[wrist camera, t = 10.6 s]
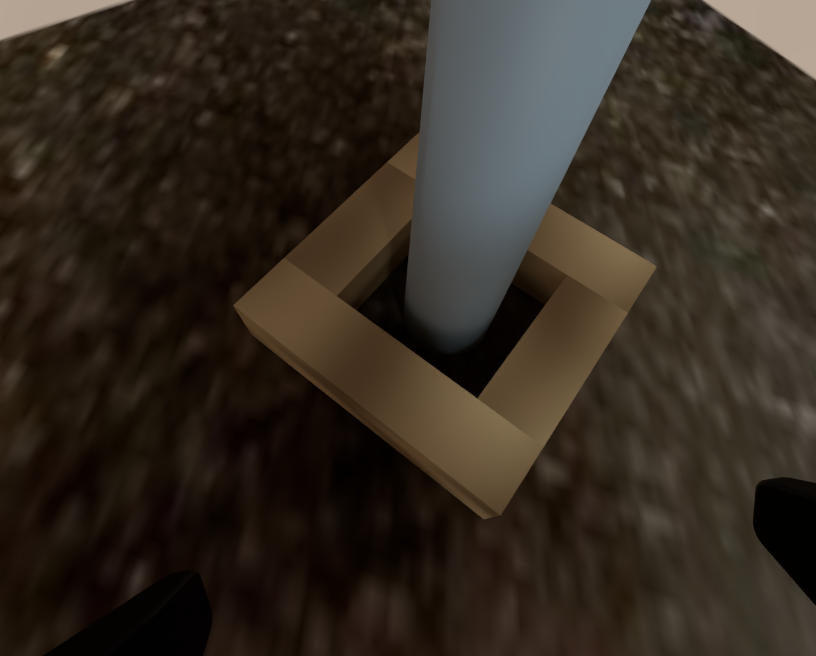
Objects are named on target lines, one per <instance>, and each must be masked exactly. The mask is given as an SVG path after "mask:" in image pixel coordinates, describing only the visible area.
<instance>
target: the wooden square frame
mask: <svg viewBox="0 0 816 656" xmlns="http://www.w3.org/2000/svg"><path fill="white" fill-rule="evenodd" d="M419 134H420V132H419V133H418V134H417V135H416V136H415V137H414V138H413V139H411V140H410V141H409V142H408V143H407V144H406V145H405V146H404V147H403V148H402V149H401V150H400V151H399V152H397V153H396V154H395V155H394V156H393V157H392V158H391V159H390V160H389V161H388V162H387V163H386V164H385V165H384V166H382V167H381V168H380V169H379V170H378V171H377V172H376V173H375V174H374V175H373V176H372V177H371V178H370V179H368V180H367V181H366V182H365V183H364V184H363V185H362V186H361V187H360V188H359V189H358V190H357V191H356V192H355V193H353V194H352V195H351V196H350V197H349V198H348V199H347V200H346V201H345V202H344V203H343V204H342V205H341V206H339V207H338V208H337V209H336V210H335V211H334V212H333V213H332V214H331V215H330V216H329V217H328V218H327V219H326V220H324V221H323V222H322V223H321V224H320V225H319V226H318V227H317V228H316V229H315V230H314V231H313V232H312V233H310V234H309V235H308V236H307V237H306V238H305V239H304V240H303V241H302V242H301V243H300V244H299V245H298V246H297V247H295V248H294V249H293V250H292V251H291V252H290V253H289V254H288V255H287V256H286V257H285V258H284V259H283V260H281V261H280V262H279V263H278V264H277V265H276V266H275V267H274V268H273V269H272V270H271V271H270V272H269V273H268V274H266V275H265V276H264V277H263V278H262V279H261V280H260V281H259V282H258V283H257V284H256V285H255V286H254V287H252V288H251V289H250V290H249V291H248V292H247V293H246V294H245V295H244V296H243V297H242V298H241V299H240V300H238V301H237V302H236V303H235V304H234V305H233V306H234V308H235V309H236V311H237V312H238V314H239V315H240V317H241V319H242V320H243V322H244V323H245V325H246V327H247V328H248V330H249V331H250V333H251V334H252V335H253V336H254V337H255V338H256V339H258V340H259V341H260V342H261V343H263V344H264V345H265V346H266V347H268V348H269V349H270V350H271V351H273V352H274V353H275V354H276V355H278V356H279V357H280V358H282V359H283V360H284V361H285V362H287V363H288V364H289V365H290V366H292V367H293V368H294V369H295V370H297V371H298V372H299V373H300V374H302V375H303V376H304V377H305V378H307V379H308V380H309V381H310V382H312V383H313V384H314V385H315V386H317V387H318V388H319V389H321V390H322V391H323V392H324V393H326V394H327V395H328V396H329V397H331V398H332V399H333V400H334V401H336V402H337V403H338V404H339V405H341V406H342V407H343V408H344V409H346V410H347V411H348V412H349V413H351V414H352V415H353V416H354V417H356V418H357V419H358V420H360V421H361V422H362V423H363V424H365V425H366V426H367V427H368V428H370V429H371V430H372V431H373V432H375V433H376V434H377V435H378V436H380V437H381V438H382V439H383V440H385V441H386V442H387V443H388V444H390V445H391V446H392V447H393V448H395V449H396V450H397V451H398V452H400V453H401V454H402V455H404V456H405V457H406V458H407V459H409V460H410V461H411V462H412V463H414V464H415V465H416V466H417V467H419V468H420V469H421V470H422V471H424V472H425V473H426V474H427V475H429V476H430V477H431V478H432V479H434V480H435V481H436V482H437V483H439V484H440V485H441V486H443V487H444V488H445V489H446V490H448V491H449V492H450V493H451V494H453V495H454V496H455V497H456V498H458V499H459V500H460V501H461V502H463V503H464V504H465V505H466V506H468V507H469V508H470V509H471V510H473V511H474V512H475V513H476V514H478V515H479V516H480V517H482V518H483V519H487V518H492V517H496V516H500V515H501V514H502V512H503V511H504V509H505V508H506V506H507V504H508V503H509V501H510V500H511V498H512V496H513V495H514V493H515V492H516V490H517V488H518V487H519V485H520V484H521V482H522V480H523V479H524V477H525V476H526V474H527V472H528V471H529V469H530V468H531V466H532V465H533V463H534V461H535V460H536V458H537V457H538V455H539V453H540V452H541V450H542V449H543V447H544V445H545V444H546V442H547V441H548V439H549V437H550V436H551V434H552V433H553V431H554V430H555V428H556V426H557V425H558V423H559V422H560V420H561V418H562V417H563V415H564V414H565V412H566V410H567V409H568V407H569V406H570V404H571V402H572V401H573V399H574V398H575V396H576V395H577V393H578V391H579V390H580V388H581V387H582V385H583V383H584V382H585V380H586V379H587V377H588V375H589V374H590V372H591V371H592V369H593V367H594V366H595V364H596V363H597V361H598V360H599V358H600V356H601V355H602V353H603V352H604V350H605V348H606V347H607V345H608V344H609V342H610V340H611V339H612V337H613V336H614V334H615V332H616V331H617V329H618V328H619V326H620V324H621V323H622V321H623V320H624V318H625V317H626V315H627V313H628V312H629V310H630V309H631V307H632V305H633V304H634V302H635V301H636V299H637V297H638V296H639V294H640V293H641V291H642V289H643V288H644V286H645V285H646V283H647V282H648V280H649V278H650V277H651V275H652V274H653V272H654V270H655V269H656V267H657V266H655V265H654V264H652V263H650V262H648V261H647V260H645V259H643V258H642V257H640V256H638V255H637V254H635V253H633V252H632V251H630V250H628V249H627V248H625V247H623V246H621V245H620V244H618V243H616V242H615V241H613V240H611V239H610V238H608V237H606V236H605V235H603V234H601V233H600V232H598V231H596V230H594V229H593V228H591V227H589V226H588V225H586V224H584V223H583V222H581V221H579V220H578V219H576V218H574V217H572V216H571V215H569V214H567V213H566V212H564V211H562V210H561V209H559V208H557V207H556V206H554V205H552V204H551V203H550V205H549V207H548V209H547V211H546V213H545V215H544V217H543V219H542V221H541V223H540V225H539V227H538V230H537V232H536V234H535V236H534V238H533V240H532V242H531V244H530V246H529V248H528V250H527V252H526V254H525V256H524V258H523V260H522V262H521V264H520V266H519V268H518V270H517V272H516V274H515V276H514V278H513V280H512V282H511V284H513V285H514V286H516V287H517V288H519V289H521V290H522V291H524V292H525V293H527V294H528V295H530V296H531V297H533V298H534V299H536V300H537V301H539V302H540V303H542V304H544V305H545V306H544V307H543V309H542V310H541V312H540V313H539V314H538V316H537V317H536V318H535V320H534V321H533V323H532V324H531V325H530V327H529V328H528V329H527V331H526V332H525V334H524V335H523V336H522V338H521V339H520V340H519V342H518V343H517V345H516V346H515V347H514V349H513V350H512V352H511V353H510V354H509V356H508V357H507V358H506V360H505V361H504V363H503V364H502V365H501V367H500V368H499V369H498V371H497V372H496V374H495V375H494V376H493V378H492V379H491V380H490V382H489V383H488V385H487V386H486V387H485V389H484V390H483V391H482V393H481V394H480V396H479V397H478V398H476V397H474V396H473V395H472V394H470V393H469V392H467V391H466V390H465V389H463V388H462V387H461V386H459V385H458V384H457V383H455V382H454V381H452V380H451V379H450V378H448V377H447V376H446V375H444V374H443V373H441V372H440V371H439V370H437V369H436V368H435V367H433V366H432V365H430V364H429V363H428V362H426V361H425V360H424V359H422V358H421V357H419V356H418V355H417V354H415V353H414V352H413V351H411V350H410V349H408V348H407V347H406V346H404V345H403V344H402V343H400V342H399V341H398V340H396V339H395V338H393V337H392V336H391V335H389V334H388V333H387V332H385V331H384V330H382V329H381V328H380V327H378V326H377V325H376V324H374V323H373V322H371V321H370V320H369V319H367V318H366V317H365V316H363V315H362V314H360V313H359V312H358V311H357V309H358V308H359V307H360V306H361V305H362V304H363V303H364V302H365V301H366V300H367V299H368V298H369V297H370V296H371V294H372V293H373V292H374V291H375V290H376V289H377V288H378V287H379V286H380V285H381V284H382V283H383V282H384V281H385V279H386V278H387V277H388V276H389V275H390V274H391V273H392V272H393V271H394V270H395V269H396V268H397V267H398V265H399V264H400V263H401V262H402V261H403V260H404V259H405V258H406V257H407V256H408V255H409V246H410V235H411V224H412V213H413V201H414V190H415V179H416V168H417V157H418V145H419Z"/></svg>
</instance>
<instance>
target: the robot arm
mask: <svg viewBox="0 0 816 656" xmlns="http://www.w3.org/2000/svg"><path fill="white" fill-rule="evenodd" d="M753 526H754V530H755V533H756V535H757V537H758V539H759V540H760V542H761V543H762V544H763V546H764V547H765V548H766V549H767V550H768V551H769V553H770V554H771V555H772V556H773V557H774V558H775V559H776V561H777V562H778V563H779V564H780V565H781V566H782V567H783V569H784V570H785V571H786V572H787V573H788V574H789V575H790V577H791V578H792V579H793V580H794V581H795V582H796V584H797V585H798V586H799V587H800V588H801V589H802V590H803V592H804V593H805V594H806V595H807V596H808V597H809V598H810V600H811V601H812V602H813V603H814V604H815V605H816V483H813V482H808V481H803V480H798V479H793V478H787V477H780V478H774V479H767V480H762V481H760V482H759V483H758V484H757V486H756V491H755V503H754V515H753ZM211 626H212V610H211V606H210V603H209V600H208V597H207V594H206V591H205V588H204V586H203V583H202V580H201V577H200V575H199V573H198V572H197V571H195V570H187V571H181V572H174V573H171V574H169V575H167V576H165V577H164V578H162V579H161V580H159V581H157V582H156V583H154V584H153V585H151V586H150V587H148V588H147V589H145V590H144V591H142V592H141V593H139V594H137V595H136V596H134V597H133V598H131V599H130V600H128V601H127V602H125V603H124V604H122V605H120V606H119V607H117V608H116V609H114V610H113V611H111V612H110V613H108V614H107V615H105V616H104V617H102V618H100V619H99V620H97V621H96V622H94V623H93V624H91V625H90V626H88V627H87V628H85V629H83V630H82V631H80V632H79V633H77V634H76V635H74V636H73V637H71V638H70V639H68V640H67V641H65V642H63V643H62V644H60V645H59V646H57V647H56V648H54V649H53V650H51V651H50V652H48V653H46V654H45V655H43V656H203V654H204V651H205V647H206V644H207V641H208V637H209V634H210V630H211Z"/></svg>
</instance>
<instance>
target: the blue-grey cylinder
mask: <svg viewBox="0 0 816 656" xmlns="http://www.w3.org/2000/svg"><path fill="white" fill-rule="evenodd" d="M650 1H651V0H431V11H430V22H429V34H428V45H427V56H426V67H425V78H424V90H423V101H422V112H421V123H420V134H419V145H418V157H417V168H416V179H415V190H414V201H413V213H412V224H411V235H410V246H409V257H408V268H407V280H406V291H405V302H404V313H403V320H404V325H405V328H406V331H407V333H408V335H409V336H410V338H411V339H412V341H413V342H414V343H415V344H416V345H417V346H419V347H420V348H421V349H423V350H424V351H426V352H428V353H431V354H433V355H437V356H442V357H454V356H460V355H463V354H466V353H468V352H470V351H471V350H473V349H474V348H476V347H477V346H478V345H479V344H480V343H481V341H482V340H483V338H484V337H485V335H486V333H487V331H488V329H489V327H490V325H491V323H492V320H493V318H494V316H495V314H496V312H497V310H498V308H499V306H500V304H501V302H502V300H503V298H504V296H505V294H506V292H507V290H508V288H509V286H510V284H511V282H512V280H513V278H514V276H515V274H516V272H517V270H518V268H519V266H520V264H521V262H522V260H523V258H524V256H525V254H526V252H527V250H528V248H529V246H530V244H531V242H532V240H533V238H534V236H535V234H536V232H537V230H538V227H539V225H540V223H541V221H542V219H543V217H544V215H545V213H546V211H547V209H548V207H549V205H550V203H551V201H552V199H553V197H554V195H555V193H556V191H557V189H558V187H559V185H560V183H561V181H562V179H563V177H564V175H565V173H566V171H567V169H568V167H569V165H570V163H571V161H572V159H573V157H574V155H575V153H576V151H577V149H578V147H579V145H580V143H581V141H582V139H583V137H584V135H585V132H586V130H587V128H588V126H589V124H590V122H591V120H592V118H593V116H594V114H595V112H596V110H597V108H598V106H599V104H600V102H601V100H602V98H603V96H604V94H605V92H606V90H607V88H608V86H609V84H610V82H611V80H612V78H613V76H614V74H615V72H616V70H617V68H618V66H619V64H620V62H621V60H622V58H623V56H624V54H625V52H626V50H627V48H628V46H629V44H630V42H631V39H632V37H633V35H634V33H635V31H636V29H637V27H638V25H639V23H640V21H641V19H642V17H643V15H644V13H645V11H646V9H647V7H648V5H649V3H650Z"/></svg>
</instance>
